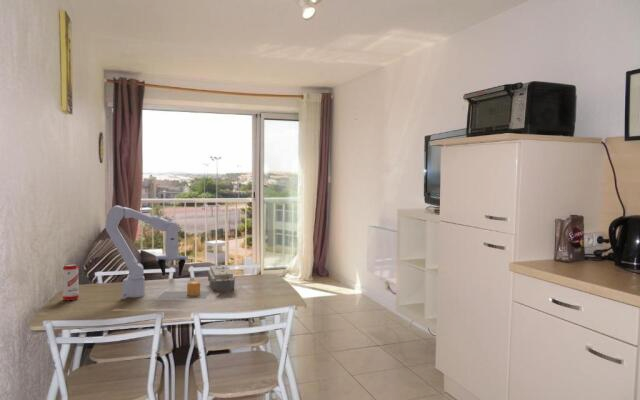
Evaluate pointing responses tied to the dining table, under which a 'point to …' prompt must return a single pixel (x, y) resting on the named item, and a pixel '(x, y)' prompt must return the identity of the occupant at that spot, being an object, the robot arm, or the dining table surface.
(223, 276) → the gray toolbox
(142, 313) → the dining table surface
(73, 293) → the beer can
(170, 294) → the wiring board
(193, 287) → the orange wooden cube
